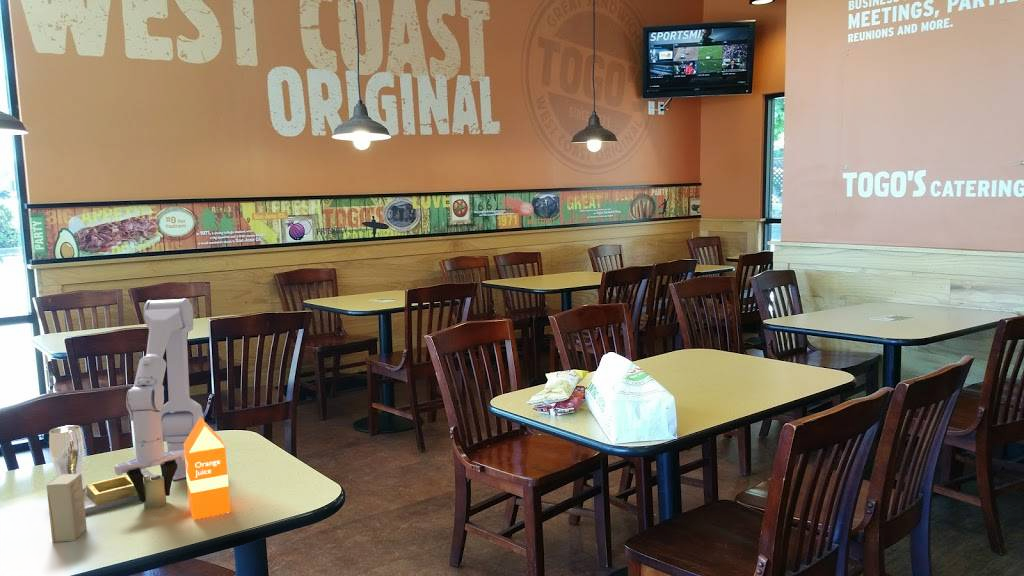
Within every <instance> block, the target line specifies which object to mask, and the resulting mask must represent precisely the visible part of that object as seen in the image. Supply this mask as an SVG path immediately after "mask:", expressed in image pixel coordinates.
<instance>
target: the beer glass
mask: <svg viewBox="0 0 1024 576" xmlns="http://www.w3.org/2000/svg"><path fill="white" fill-rule="evenodd" d="M48 435H49V436H48V437H49V438H48V442H49V453H50V458H51V461H52V464H53V467H54V470H55V474H56V477H57V476H59V475H60V474H77V473H81V476H82V486H83V491H84V490H86V483H85V480H84V479H85V478H84V475H83V465H84V464H83V463H84V454H85V453H84V451H85V450H84V449H85V448H84V441H83V439H84V438H83V433H82V429H81V426H80V425H64V426H63V425H62V426H58V427H54V428H51V429H50V430H49V432H48Z"/></svg>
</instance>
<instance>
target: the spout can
mask: <svg viewBox="0 0 1024 576" xmlns="http://www.w3.org/2000/svg"><path fill="white" fill-rule="evenodd" d="M153 475H154V474H153ZM143 487H144V494H145V502H143V508H144V509H146V510H147V509H148V510H152V509H159V508H161V507H163V506H164V507H165V506H166V505H167V496H166V493H165V482H164V476H162V474H161V475H160V474H155V475H154V476H150V475H145V476H144V479H143Z"/></svg>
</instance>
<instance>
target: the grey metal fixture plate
mask: <svg viewBox="0 0 1024 576" xmlns="http://www.w3.org/2000/svg"><path fill="white" fill-rule="evenodd" d="M140 471H141V473H142V474H143V475H144V476H145V475H150V476H154V474H153V472H150V471H149V470H148V468H144V469H140ZM143 479H144V477H143ZM85 486H86V488H85V491H84V490H83V497H84V506H85V516H87V515H91V514H95V513H99V512H104V511H106V510H111V509H115V508H118V507H121V506H126V505H131V504H134V503H137V502H139V503H140V502H141V501H140V500H139V497H138V494H137V491H136V489H135V486H134V485H133V483H132V481H131V479H130V478H129V476H128V475H127V474H125V475H119V476H116V477H112V478H108V479H104V480H100V481H94V482H91V483H85Z"/></svg>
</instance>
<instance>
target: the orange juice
mask: <svg viewBox="0 0 1024 576" xmlns="http://www.w3.org/2000/svg"><path fill="white" fill-rule="evenodd" d="M184 453H185V464H186V485H187V486H186V487H187V495H188V506H189V510H191V511H190V514H191V516H192V519H193V521H197V520H196V519H198V520H202V519H201V518H203V519H206V518H205V517H207V518H211V517H210V516H212V517H216V516H215V515H217V516H220V515H219V514H222V515H224V514H223V513H227V512H231V501H230V491H229V488H230V487H229V478H228V477H229V475H228V467H227V456H226V445H225V444H224V442H223V441H222V439H221V437H220V436H219V435H218V434H217V433H216V432H215V431H214V430H213V429H212V427H210V425H208V423H207V422H205V419H204V420H203V419H202V418H201V417H200V418H199V420H198V421H197V423H196V425H195V426H194V428H193V430H192V431H191V433H190V435H189V436H188V438H187V440H186V441H185V443H184ZM227 514H228V513H227Z"/></svg>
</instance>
